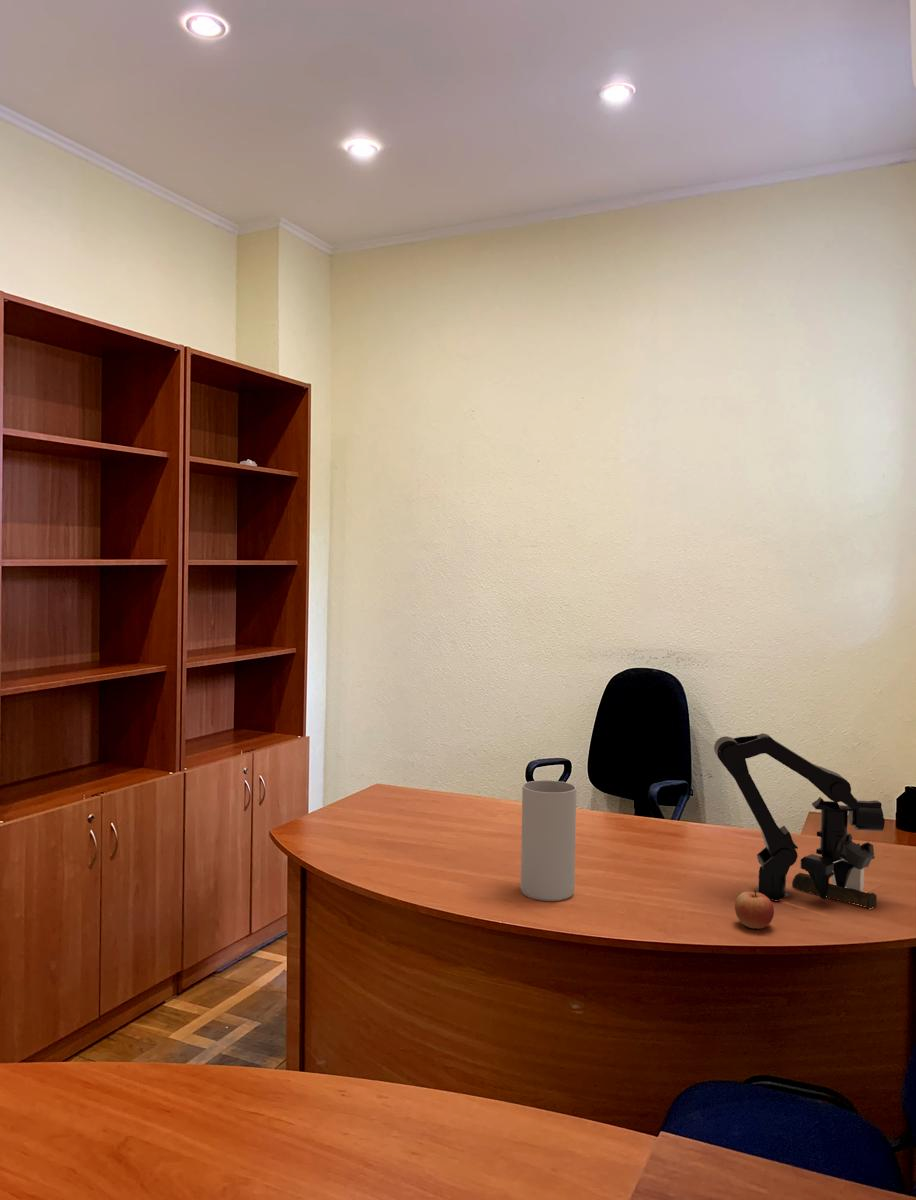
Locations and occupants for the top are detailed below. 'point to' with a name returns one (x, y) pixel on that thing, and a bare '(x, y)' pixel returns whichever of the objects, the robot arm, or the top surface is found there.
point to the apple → (754, 909)
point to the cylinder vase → (548, 840)
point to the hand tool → (835, 891)
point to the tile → (854, 879)
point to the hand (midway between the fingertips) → (832, 895)
